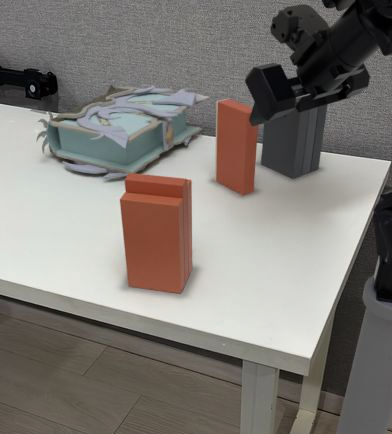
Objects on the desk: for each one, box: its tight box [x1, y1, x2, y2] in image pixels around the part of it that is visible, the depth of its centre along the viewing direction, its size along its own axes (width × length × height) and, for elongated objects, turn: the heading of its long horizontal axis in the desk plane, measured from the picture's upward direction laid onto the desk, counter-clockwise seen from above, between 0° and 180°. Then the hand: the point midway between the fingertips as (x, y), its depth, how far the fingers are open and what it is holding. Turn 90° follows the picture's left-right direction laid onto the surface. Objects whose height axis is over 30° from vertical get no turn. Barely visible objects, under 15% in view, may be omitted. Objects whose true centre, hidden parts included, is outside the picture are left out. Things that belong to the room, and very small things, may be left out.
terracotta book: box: [214, 98, 259, 196], centre depth 90 cm, size 7×2×13 cm, turn 38°
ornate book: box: [36, 84, 209, 179], centre depth 103 cm, size 23×10×30 cm
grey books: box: [260, 76, 329, 179], centre depth 95 cm, size 8×6×14 cm
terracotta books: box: [119, 173, 193, 295], centre depth 69 cm, size 7×6×14 cm
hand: (274, 116), depth 80 cm, fingers open, 9 cm apart
